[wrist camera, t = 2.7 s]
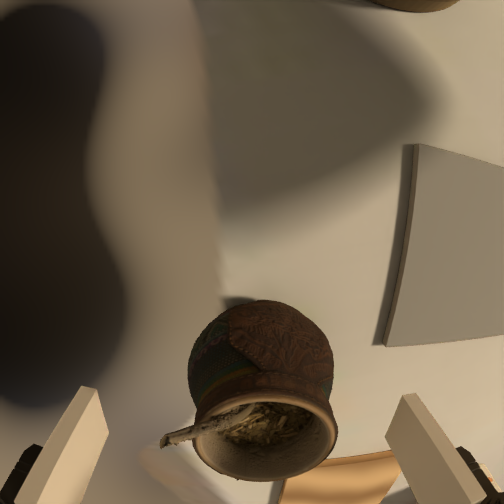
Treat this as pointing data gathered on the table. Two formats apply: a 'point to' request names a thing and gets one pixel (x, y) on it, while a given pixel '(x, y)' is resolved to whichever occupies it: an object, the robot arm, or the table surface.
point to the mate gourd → (261, 394)
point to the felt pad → (450, 252)
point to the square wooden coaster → (344, 481)
